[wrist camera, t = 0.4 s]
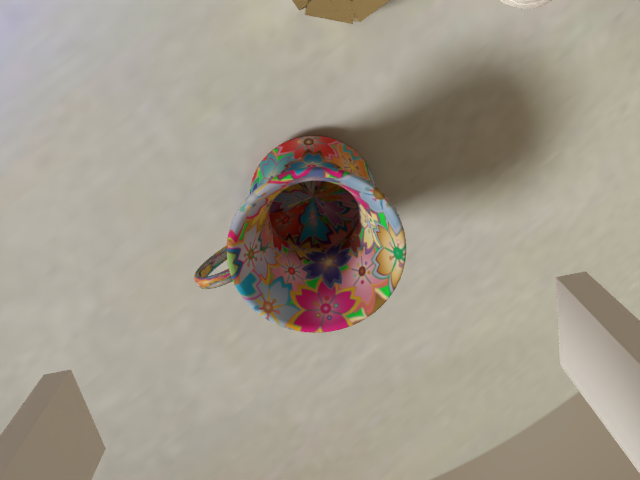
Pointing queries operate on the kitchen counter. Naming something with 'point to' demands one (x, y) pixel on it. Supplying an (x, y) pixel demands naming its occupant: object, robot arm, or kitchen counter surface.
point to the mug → (312, 239)
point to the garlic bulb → (525, 3)
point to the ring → (340, 9)
